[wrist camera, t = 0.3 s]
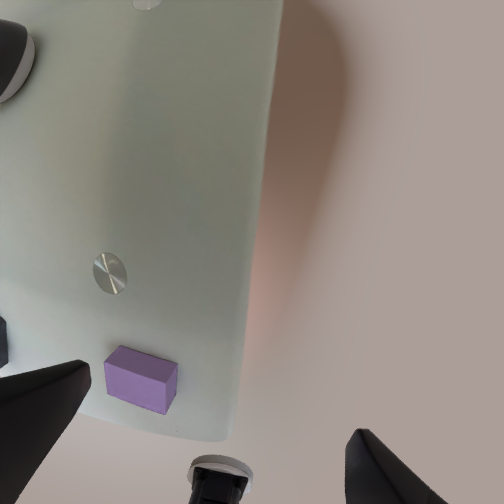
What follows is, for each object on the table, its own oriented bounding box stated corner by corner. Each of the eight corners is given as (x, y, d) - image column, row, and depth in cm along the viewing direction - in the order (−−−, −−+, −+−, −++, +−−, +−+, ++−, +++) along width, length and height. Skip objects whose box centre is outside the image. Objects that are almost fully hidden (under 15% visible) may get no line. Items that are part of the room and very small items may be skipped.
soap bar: (177, 363, 24) (165, 383, 21) (175, 395, 25) (165, 415, 22) (119, 345, 25) (103, 361, 22) (121, 376, 26) (107, 394, 22)
